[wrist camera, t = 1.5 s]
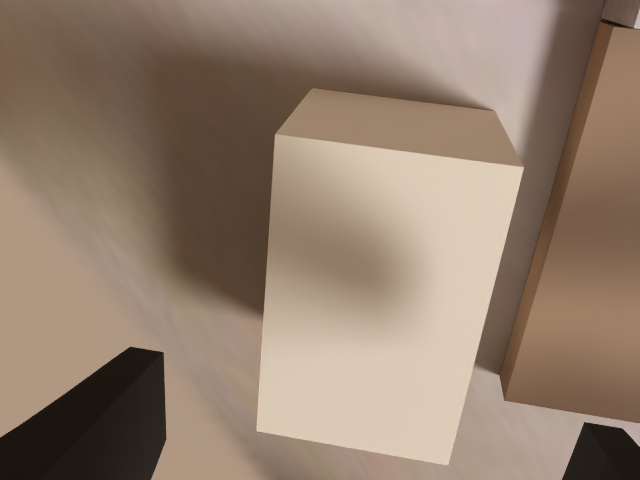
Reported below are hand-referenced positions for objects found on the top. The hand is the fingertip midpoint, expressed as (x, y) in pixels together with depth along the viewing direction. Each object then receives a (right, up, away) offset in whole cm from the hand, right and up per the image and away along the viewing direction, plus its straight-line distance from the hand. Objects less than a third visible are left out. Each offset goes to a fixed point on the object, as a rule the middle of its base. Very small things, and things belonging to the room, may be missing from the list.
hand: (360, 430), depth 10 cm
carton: (+1, +4, +8) cm, 9 cm away
